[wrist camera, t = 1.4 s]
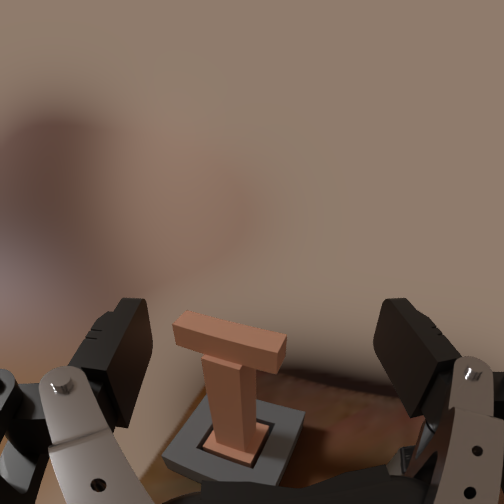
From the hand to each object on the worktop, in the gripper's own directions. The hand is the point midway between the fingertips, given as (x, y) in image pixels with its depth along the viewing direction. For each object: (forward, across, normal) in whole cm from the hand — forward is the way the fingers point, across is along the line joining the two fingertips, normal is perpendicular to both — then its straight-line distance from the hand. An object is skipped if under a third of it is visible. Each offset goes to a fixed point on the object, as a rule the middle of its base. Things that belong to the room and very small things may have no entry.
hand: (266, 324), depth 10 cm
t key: (+10, +1, +24) cm, 26 cm away
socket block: (+10, +1, +24) cm, 26 cm away
